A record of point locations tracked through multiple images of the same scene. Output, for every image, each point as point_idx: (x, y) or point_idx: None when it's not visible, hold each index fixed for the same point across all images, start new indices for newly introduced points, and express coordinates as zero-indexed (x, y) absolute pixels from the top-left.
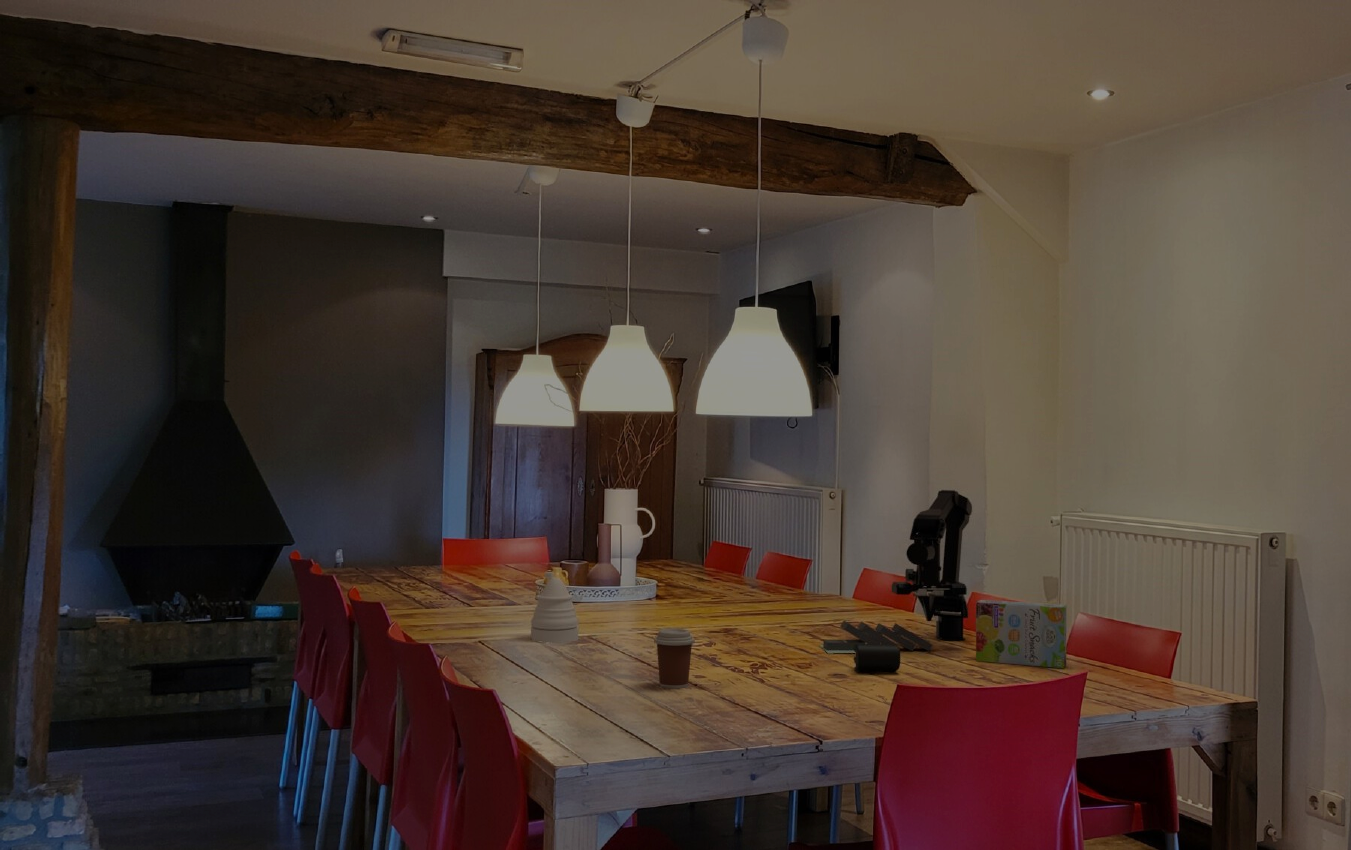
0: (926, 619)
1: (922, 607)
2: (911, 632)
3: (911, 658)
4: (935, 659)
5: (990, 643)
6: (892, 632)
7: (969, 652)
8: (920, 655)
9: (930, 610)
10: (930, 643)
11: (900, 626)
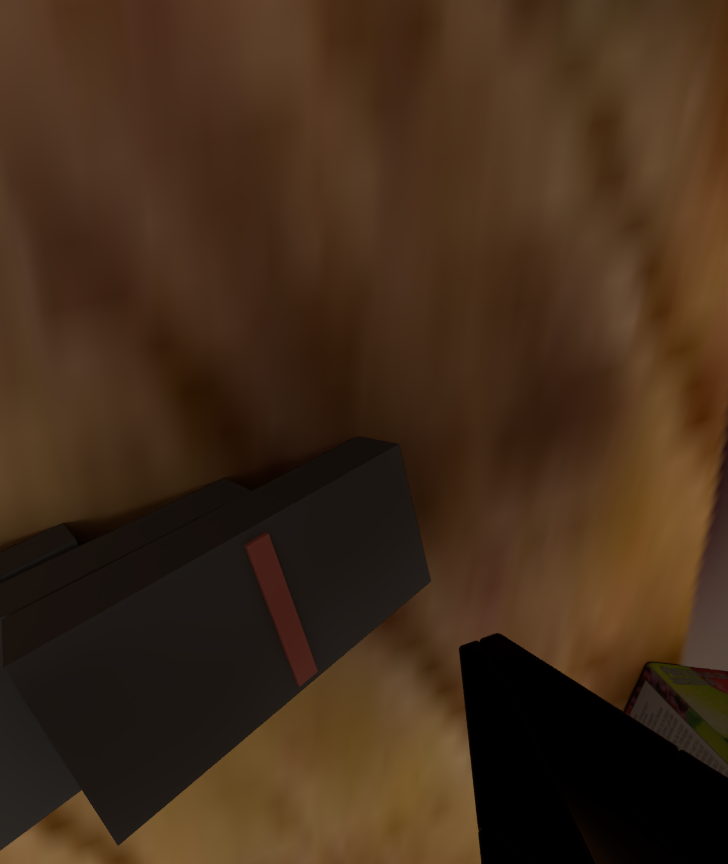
0: (461, 665)
1: (481, 856)
2: (257, 727)
3: (269, 811)
4: (406, 785)
5: None
6: (53, 798)
7: (639, 515)
8: (324, 711)
9: (590, 850)
10: (413, 592)
11: (121, 836)
